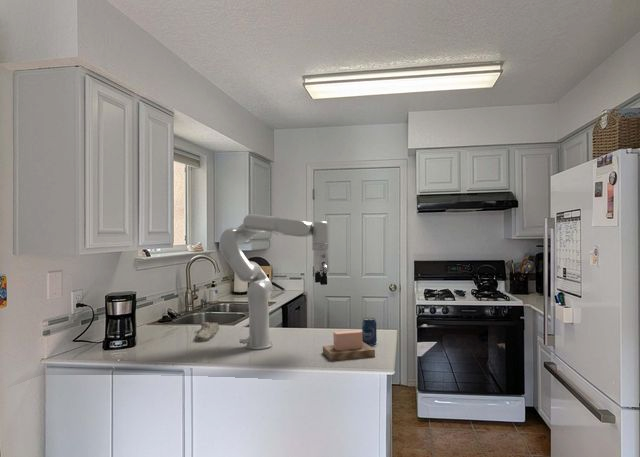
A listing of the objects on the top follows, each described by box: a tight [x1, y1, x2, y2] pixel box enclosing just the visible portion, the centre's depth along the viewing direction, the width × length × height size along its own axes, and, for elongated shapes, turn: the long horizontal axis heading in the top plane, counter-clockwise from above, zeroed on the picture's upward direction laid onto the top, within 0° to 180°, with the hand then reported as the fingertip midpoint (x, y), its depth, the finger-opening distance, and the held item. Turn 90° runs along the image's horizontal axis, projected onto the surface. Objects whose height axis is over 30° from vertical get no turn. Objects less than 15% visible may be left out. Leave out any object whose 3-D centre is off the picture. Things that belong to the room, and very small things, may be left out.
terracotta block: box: [333, 329, 363, 350], centre depth 193 cm, size 4×12×7 cm, turn 105°
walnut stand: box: [322, 343, 376, 362], centre depth 193 cm, size 20×13×3 cm, turn 105°
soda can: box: [361, 317, 378, 346], centre depth 211 cm, size 7×7×12 cm
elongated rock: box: [196, 321, 220, 343], centre depth 237 cm, size 35×5×10 cm
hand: (320, 283), depth 205 cm, fingers open, 9 cm apart
